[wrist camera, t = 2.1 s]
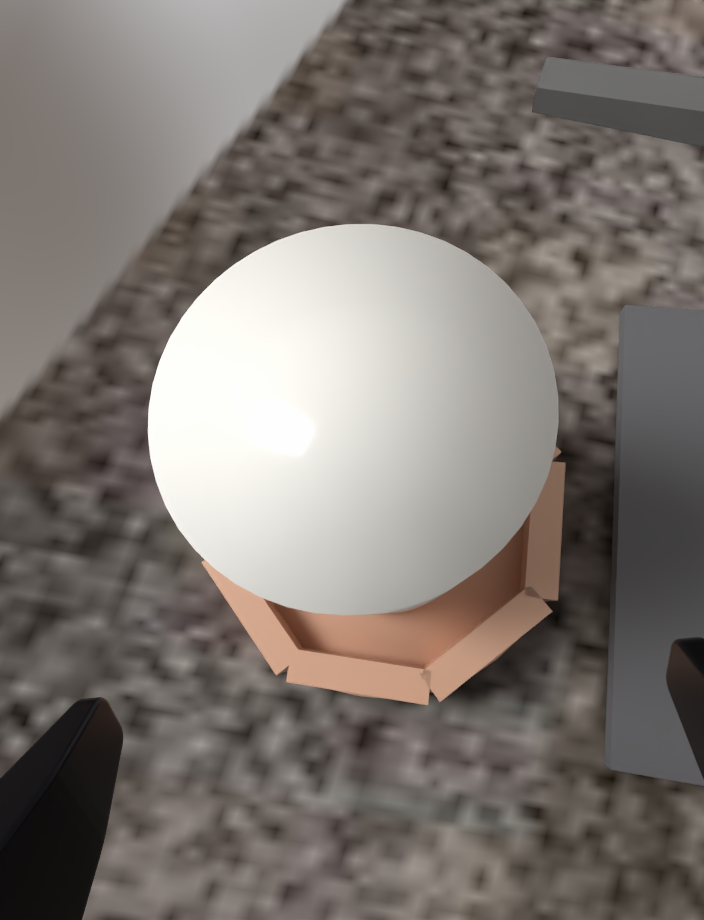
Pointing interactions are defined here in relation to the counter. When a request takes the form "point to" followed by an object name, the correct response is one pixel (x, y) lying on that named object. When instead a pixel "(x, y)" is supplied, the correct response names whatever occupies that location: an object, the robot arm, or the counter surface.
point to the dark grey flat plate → (655, 536)
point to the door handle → (623, 99)
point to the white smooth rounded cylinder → (353, 420)
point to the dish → (418, 620)
